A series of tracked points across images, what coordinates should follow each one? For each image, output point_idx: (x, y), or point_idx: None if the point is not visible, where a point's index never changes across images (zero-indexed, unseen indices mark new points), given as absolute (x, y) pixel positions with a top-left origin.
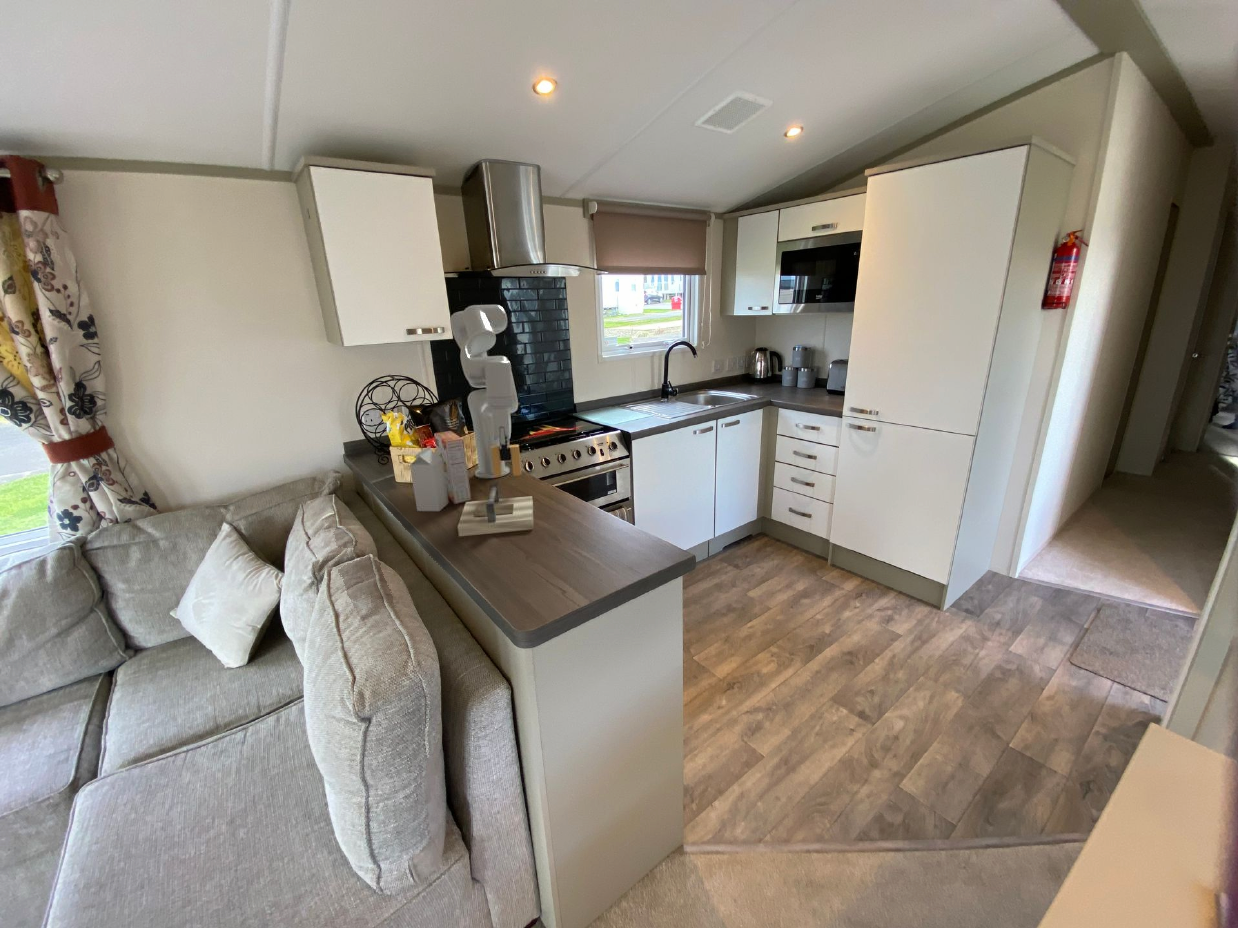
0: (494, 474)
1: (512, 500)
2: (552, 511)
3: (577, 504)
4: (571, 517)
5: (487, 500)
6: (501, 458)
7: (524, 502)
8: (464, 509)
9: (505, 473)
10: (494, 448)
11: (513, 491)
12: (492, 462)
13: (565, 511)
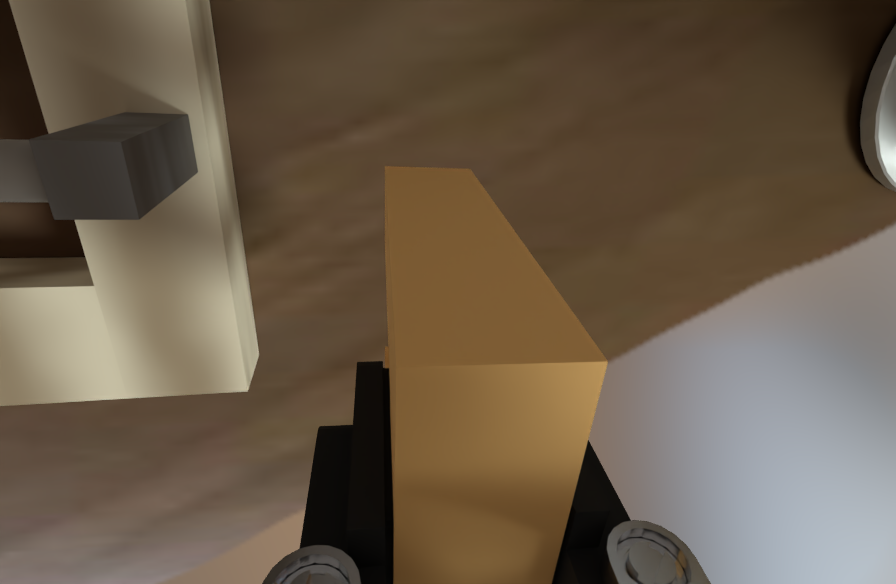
0: (385, 182)
1: (171, 273)
2: (144, 448)
3: (237, 537)
4: (52, 526)
5: (185, 64)
6: (356, 392)
7: (121, 353)
8: None
9: (878, 173)
10: (394, 440)
11: (538, 232)
12: (388, 225)
13: (141, 500)
